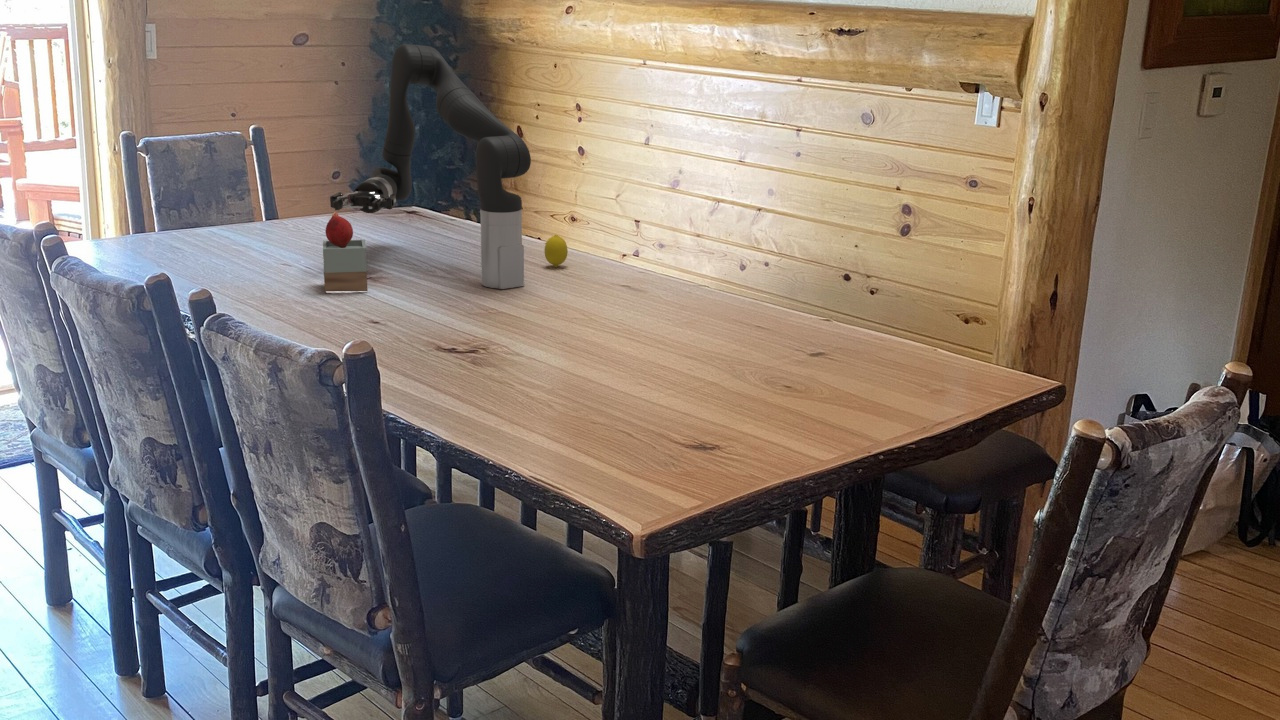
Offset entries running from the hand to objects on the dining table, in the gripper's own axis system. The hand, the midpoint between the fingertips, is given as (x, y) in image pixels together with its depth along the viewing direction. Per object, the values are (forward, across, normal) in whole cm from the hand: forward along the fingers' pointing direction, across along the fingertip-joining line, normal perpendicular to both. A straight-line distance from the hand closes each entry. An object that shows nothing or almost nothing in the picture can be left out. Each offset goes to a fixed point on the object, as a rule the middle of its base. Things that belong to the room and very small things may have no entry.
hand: (355, 206), depth 262 cm
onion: (+10, 0, +8) cm, 13 cm away
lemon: (-17, +44, +17) cm, 50 cm away
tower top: (+10, 0, +12) cm, 16 cm away
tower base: (+10, 0, +17) cm, 20 cm away
